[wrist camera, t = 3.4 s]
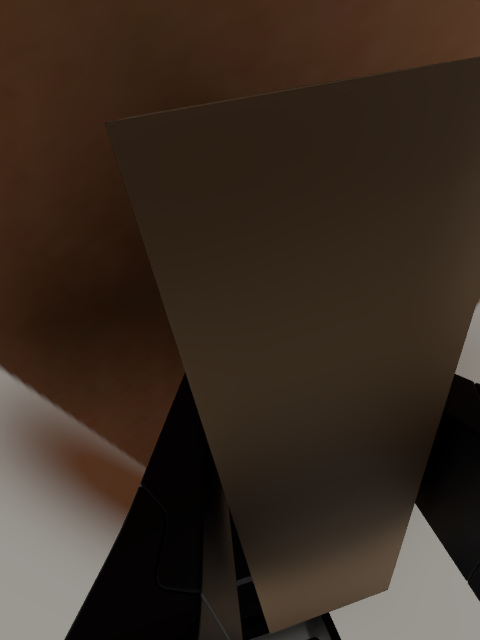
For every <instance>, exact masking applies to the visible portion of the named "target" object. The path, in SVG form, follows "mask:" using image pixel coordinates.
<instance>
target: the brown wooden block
mask: <svg viewBox="0 0 480 640" xmlns="http://www.w3.org/2000/svg"><path fill="white" fill-rule="evenodd" d="M105 125H106V128H107V132H108V135H109V138H110V141H111V144H112V147H113V150H114V153H115V156H116V159H117V162H118V166H119V169H120V172H121V175H122V178H123V181H124V184H125V187H126V190H127V193H128V196H129V200H130V203H131V206H132V209H133V212H134V215H135V218H136V221H137V224H138V227H139V230H140V233H141V237H142V240H143V243H144V246H145V249H146V252H147V255H148V258H149V261H150V264H151V267H152V271H153V274H154V277H155V280H156V283H157V286H158V289H159V292H160V295H161V298H162V301H163V305H164V308H165V311H166V314H167V317H168V320H169V323H170V326H171V329H172V332H173V335H174V338H175V342H176V345H177V348H178V351H179V354H180V357H181V360H182V363H183V366H184V369H185V372H186V376H187V379H188V382H189V385H190V388H191V391H192V394H193V397H194V400H195V403H196V406H197V410H198V413H199V416H200V419H201V422H202V425H203V428H204V431H205V434H206V437H207V440H208V444H209V447H210V450H211V453H212V456H213V459H214V462H215V465H216V468H217V471H218V474H219V477H220V481H221V484H222V487H223V490H224V493H225V496H226V499H227V502H228V505H229V508H230V511H231V515H232V518H233V521H234V524H235V527H236V530H237V533H238V536H239V539H240V542H241V545H242V549H243V552H244V555H245V558H246V561H247V564H248V567H249V570H250V573H251V576H252V579H253V583H254V586H255V589H256V592H257V595H258V598H259V601H260V604H261V607H262V610H263V613H264V616H265V620H266V623H267V626H268V629H269V632H270V634H272V633H275V632H277V631H280V630H282V629H285V628H288V627H290V626H293V625H296V624H298V623H301V622H304V621H306V620H309V619H312V618H314V617H317V616H320V615H322V614H325V613H328V612H330V611H333V610H336V609H338V608H341V607H343V606H346V605H349V604H351V603H354V602H357V601H359V600H362V599H365V598H367V597H370V596H373V595H375V594H378V593H381V592H383V591H386V590H388V587H389V584H390V581H391V577H392V575H393V571H394V568H395V565H396V561H397V558H398V555H399V552H400V549H401V545H402V542H403V539H404V536H405V533H406V529H407V526H408V523H409V520H410V516H411V513H412V510H413V507H414V503H415V500H416V497H417V494H418V490H419V487H420V484H421V481H422V478H423V474H424V471H425V468H426V465H427V461H428V458H429V455H430V452H431V448H432V445H433V442H434V439H435V436H436V432H437V429H438V426H439V423H440V419H441V416H442V413H443V410H444V406H445V403H446V400H447V397H448V394H449V390H450V387H451V384H452V381H453V377H454V374H455V370H456V368H457V364H458V361H459V358H460V355H461V352H462V348H463V345H464V342H465V338H466V335H467V332H468V329H469V326H470V322H471V319H472V316H473V313H474V310H475V306H476V303H477V300H478V297H479V293H480V57H474V58H468V59H462V60H456V61H451V62H445V63H439V64H433V65H427V66H421V67H415V68H409V69H403V70H397V71H391V72H385V73H379V74H373V75H367V76H361V77H356V78H350V79H344V80H338V81H332V82H326V83H320V84H314V85H308V86H302V87H296V88H291V89H285V90H279V91H274V92H268V93H262V94H256V95H251V96H245V97H239V98H233V99H228V100H222V101H216V102H211V103H205V104H199V105H193V106H188V107H182V108H176V109H170V110H165V111H159V112H153V113H148V114H142V115H136V116H131V117H127V118H123V119H119V120H114V121H110V122H106V123H105Z"/></svg>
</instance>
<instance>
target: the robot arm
mask: <svg viewBox="0 0 480 640" xmlns="http://www.w3.org/2000/svg"><path fill="white" fill-rule="evenodd" d="M140 485H141V487H139V488H138V490H137V493H136V495H135V498H134V500H133V503H132V505H131V508H130V510H129V512H128V514H127V517H126V519H125V521H124V523H123V526H122V528H121V530H120V532H119V534H118V536H117V539H116V541H115V543H114V545H113V547H112V549H111V551H110V553H109V555H108V557H107V559H106V561H105V563H104V565H103V567H102V569H101V571H100V572H99V575H98V576H97V578H96V580H95V582H94V584H93V586H92V588H91V590H90V592H89V593H88V595H87V597H86V599H85V601H84V603H83V605H82V607H81V609H80V611H79V613H78V615H77V616H76V618H75V620H74V622H73V624H72V626H71V628H70V630H69V632H68V634H67V636H66V638H65V640H341V639H340V636H339V634H338V632H337V630H336V627H335V625H334V623H333V621H332V618H331V616H330V614H329V612H328V613H325V614H322V615H320V616H317V617H314V618H312V619H309V620H306V621H304V622H301V623H298V624H296V625H293V626H290V627H288V628H285V629H282V630H280V631H277V632H275V633H272V634H270V632H269V629H268V626H267V623H266V620H265V616H264V613H263V610H262V607H261V604H260V601H259V598H258V595H257V592H256V589H255V586H254V583H253V579H252V576H251V573H250V570H249V567H248V564H247V561H246V558H245V555H244V552H243V549H242V545H241V542H240V539H239V536H238V533H237V530H236V527H235V524H234V521H233V518H232V515H231V511H230V508H228V502H227V499H226V496H225V493H224V490H223V487H222V484H221V481H220V477H219V474H218V471H217V468H216V465H215V462H214V459H213V456H212V453H211V450H210V447H209V444H208V440H207V437H206V434H205V431H204V428H203V425H202V422H201V419H200V416H199V413H198V410H197V406H196V403H195V400H194V397H193V394H192V391H191V388H190V385H189V382H188V379H187V376H186V372H185V374H184V376H183V379H182V381H181V384H180V386H179V389H178V391H177V394H176V396H175V399H174V401H173V403H172V406H171V408H170V411H169V413H168V416H167V418H166V421H165V423H164V426H163V428H162V431H161V433H160V436H159V438H158V441H157V443H156V446H155V448H154V451H153V453H152V456H151V458H150V461H149V463H148V466H147V468H146V471H145V474H144V476H143V478H142V481H141V483H140ZM415 504H416V505H417V507H418V508H419V510H420V511H421V513H422V514H423V516H424V517H425V519H426V520H427V522H428V523H429V525H430V526H431V528H432V529H433V531H434V532H435V534H436V535H437V537H438V538H439V540H440V541H441V543H442V544H443V546H444V548H445V549H446V550H447V552H448V554H449V555H450V557H451V558H452V560H453V561H454V563H455V564H456V566H457V567H458V569H459V570H460V572H461V573H462V575H463V576H464V578H465V579H466V580H467V581H468V584H469V586H470V587H471V589H472V590H473V592H474V593H475V595H476V596H477V598H478V600H479V601H480V384H478V383H475V384H474V382H473V381H471V380H468V379H466V378H463V377H461V376H459V375H456V374H454V377H453V381H452V384H451V387H450V390H449V394H448V397H447V400H446V403H445V406H444V410H443V413H442V416H441V419H440V423H439V426H438V429H437V432H436V436H435V439H434V442H433V445H432V448H431V452H430V455H429V458H428V461H427V465H426V468H425V471H424V474H423V478H422V481H421V484H420V487H419V490H418V494H417V497H416V500H415Z"/></svg>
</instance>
